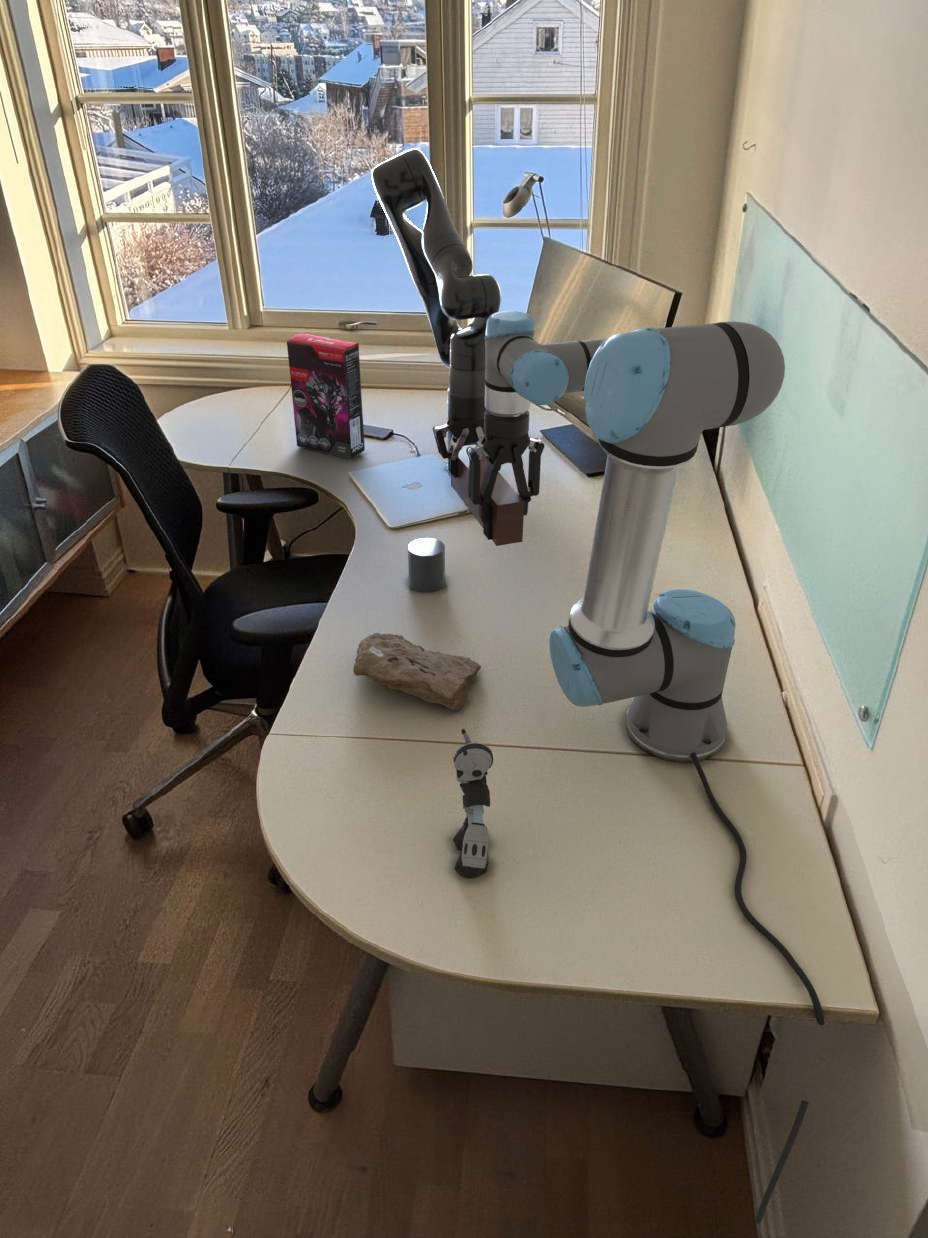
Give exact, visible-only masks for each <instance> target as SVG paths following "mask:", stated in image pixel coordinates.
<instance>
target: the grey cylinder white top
mask: <svg viewBox="0 0 928 1238" xmlns="http://www.w3.org/2000/svg"><path fill="white" fill-rule="evenodd" d="M407 562H408V564H407V565H408V585H409V587H410V588H411V589H413V590H414V591H417V592H420V593H433V592H437V591H440V590H441V589H442V588H444V586H445V585H446V546H445V544H444V542H443V541H441V540H439V539H437V538H433V537H421V538H417V539H414V540H412V541H410V542H409V544H408V545H407Z"/></svg>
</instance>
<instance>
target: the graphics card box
mask: <svg viewBox="0 0 928 1238" xmlns="http://www.w3.org/2000/svg"><path fill="white" fill-rule="evenodd" d="M286 347H287V359H288V369H289V378H290V389H291V397H292V407H293V418H294V419H293V420H294V428H295V438H296V439H295V441H296V447H299V448H303V449H307V450H310V451H315V452H320V453H323V454H324V453H325V454H329V455H332V456H336V457H341V458H346V459H353V458H354V457H356V456H358V455H360V454H362V453H363V452H365V447H366V446H365V430H364V415H363V414H364V413H363V398H362V381H361V380H362V379H361V363H360V344H359V342H351V341H346V340H342V339H341V340H340V339H336V338H330V337H325V336H319V335H314V334H308V333H304V332H300V333H298V334H295V335H293V336H292V337H290V338H289V339H288V340H287V341H286Z"/></svg>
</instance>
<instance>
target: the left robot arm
mask: <svg viewBox="0 0 928 1238" xmlns="http://www.w3.org/2000/svg"><path fill="white" fill-rule="evenodd" d="M371 180H372V185H373V188H374V191H375V193H376V196H377V199H378V200H379V203H380V205H381V207H382V209H383V211H384V213H385V216H386V218H387V220H388V222H389V224H390V226H391V229H392V230H393V232H394V235H395V236H396V239H397V242H398V245H399V246H400V249H401V251H402V255H403V256H404V259H405V263H406V265H407V268H408V271H409V273H410V276H411V279H412V281H413V284H414V286H415V289H416V291H417V293H418V296H419V298H420V301H421V302H422V305H423V308H424V311H425V313H426V316H427V319H428V322H429V325H430V329H431V331H432V335H433V339H434V343H435V346H436V351H437V354H438V356H439V359H440V362H441V363H442V365H444V366H445V367H446V368H448V369H449V374H448V389H447V391H446V423H445V424H443V425H440V426H438V425H433V427H432V432H433V436H434V439H435V444H436V448H437V452H438V454H439V455H440V456H441V458H442V459H443V460H446V471H447V472H448V473H449V474H450V476H451V475H452V476H453V477H454V478H458V460H457V457H458V455H459V452H460V450H461V449H462V447H463V446H468V445H476V446H478V445H480V444H481V441H482V439H483V437H484V411H485V410H486V408H485V341H486V340H485V336H486V325H487V320H488V318H489V316H491V315H492V314H494V313H497V312H500V308H501V302H502V292H501V287H500V284H499V282H498V281H497V279H496V278H495V276H492V275H491V274H486V273H483V274H482V273H481V274H473V275H471V274H472V272H473V268H474V262H473V261H474V260H473V259H472V256H471V254H470V252H469V250H468V248H467V247H466V245H465V243H464V241H463V239H462V237H461V236H460V234H459V232H458V231H457V228H456V226H455V223H454V221H453V219H452V215H451V214H450V210H449V208H448V204H447V202H446V200H445V197H444V194H443V191H442V189H441V187H440V185H439V182H438V180H437V177H436V175H435V172H434V171H433V169H432V166H431V164H430V162H429V160H428V159H427V157H426V156H425V154H424V153H423V151H421V150H420V149H418V148H410V149H408V150H405V151H403V152H401V153H399V154H397V155H395V156H392V157H391V158H389V159H386V160H385V161H383V162H381V163H379V164H377V165H376V166H375V167H373V168H372V170H371ZM425 202H426V214H425V218H424V223H423V228H422V230H421V229H420V228H418V227H417V226H416V225H414V224H413V223H412V221H411V220H409V218H407V216H406V215H405V213H406V212H407V211H409V210H411V209H413V208H415V207H417V206H420V205H421V204H424V203H425ZM470 319H472V320H471V322H470V323H469V324H468V325H467V326H466V327H463V328H462V327H461V326H460V325H459V324H460V323H458V321H462V320H463V321H464V320H470ZM445 438H446V440H445ZM483 454H484V455H485V457H486V458H487V459H488V455H487V453H486V452H485V451H484V452H483Z"/></svg>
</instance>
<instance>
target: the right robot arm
mask: <svg viewBox="0 0 928 1238" xmlns="http://www.w3.org/2000/svg"><path fill="white" fill-rule="evenodd" d="M535 333H536V332H535V325H534V318H533V317H532V316H531V314H528V313H526V312H523V311H518V310H503V311H499V312H497V313H494V314H492V315H491V316H489V318H488V320H487V325H486V336H485V340H486V341H485V408H486V410H485V411H484V437H483V439H482V441H481V444H480V445H478V446H476V447H474V448H472V447H470V446H469V447H467V449H466V452H467V454H468V457H469V494H468V496H469V498H470V500H471V501H472V502H473V504H474V505H477V504H479V518H480V520H481V521H482V522H483V528H482V534H483V535H484V536H485V538H486V539H487V540H488V541H492V526H493V506H492V505H491V503H490V499H491V496H492V492H493V489H494V485H495V481H496V478H497V474H498V472H500V471H501V468H502V466H503V465H505V464H511V467H512V473H513V476H514V480H515V484H516V489H517V493H518V495H519V496H520V497H521V498H522V499H523V500H524V517H526V516H528V514H529V503H530V502H531V501H532V497H538V496H539V494H540V485H541V462H542V454H543V452H544V449H545V446H546V445H545V443H544V442H543V441H542V440H541V439H540V438H538V437H535V438H531V436H530V435H529V430H530V413H531V412H530V411H529V410H530V408H531V404H534V405H537V406H548V405H551V404H553V403H555V402H556V401H557V400H559V399H561V398H562V396H563V395H564V394H570V393H579V392H583V400H584V401H585V402H586V404H585V407H584V413H585V418H586V422H587V425H588V427H589V429H590V431H591V432H592V434H593V435H594V437H596V438H597V443H598V445H599V447H600V449H601V450H602V451H603V452H604V453H605V454H606V456H607V457H606V463H605V469H604V473H603V474H604V475H603V481H602V486H601V493H600V499H599V504H598V511H597V517H596V523H595V529H594V534H593V541H592V545H591V546H592V547H591V553H590V559H589V564H588V565H589V566H588V570H587V576H586V577H587V578H586V583H585V590H584V595H583V597H582V598H580V599H579V600H577V601H576V602H575V604H574V605H573V606H572V607H571V609H570V613H569V619H568V624H567V625H566V626H563V625H560V626H558V627H557V628H555V629H553V630H551V632H550V634H549V639H548V648H549V654H550V660H551V664H552V668H553V671H554V675H555V677H556V680H557V682H558V685H559V687H560V689H561V691H562V692H563V694H564V696H565V697H566V698H567V700H568V701H569V702H570V703H571V704H573V705H574V706H577V707H581V708H584V707H592V706H603V705H605V704H609V703H614V702H618V701H623V700H626V699H627V700H628V699H632V698H633V699H632V701H631V702H630V704H629V706H628V708H627V713H626V719H625V728H626V732H627V734H628V736H629V738H630V739H631V741H632V742H634V744H636V745H637V746H638V747H639V748H640V749H641V750H643V751H645V752H646V753H648V754H650V755H651V756H654V757H656V758H659V759H662V760H666V761H670V762H675V763H693V764H694V767H695V769H696V771H697V774H698V776H699V778H700V781H701V784H702V786H703V789H704V792H705V794H706V796H707V798H708V800H709V802H710V804H711V806H712V808H713V810H714V811H715V813H716V814H717V816H718V817H719V819H720V820H721V821H722V822H723V823H724V825H725V826H726V827H727V829H728V830H729V832H730V833H731V834H732V836H733V838H734V839H735V842H736V844H737V846H738V851H739V863H738V869H737V872H736V876H735V880H734V895H735V896H734V897H735V900H736V902H737V905H738V907H739V909H740V911H741V913H742V914H743V915H744V917H745V918H746V919H747V921H748V922H749V923H750V924H751V925H752V926H753V927H754V929H756V930H757V931H758V932H759V934H761V935H762V936H763V937H764V938H765V939H766V940H768V941H769V942H770V943H771V944H772V945H773V946H774V947H775V948H776V949H777V950H778V951H779V952H780V954H781V955H782V956H783V957H784V959H785V960H786V961H787V962H788V964H789V965H790V967H791V968H792V970H793V971H794V972H795V974H796V975H797V977H798V978H799V979H800V981H801V982H802V984H803V985H804V987H805V989H806V991H807V993H808V995H809V998H810V1000H811V1003H812V1006H813V1011H814V1015H815V1019H816V1022H817V1024H818V1025H819V1026H824V1025H825V1017H824V1012H823V1009H822V1005H821V1002H820V999H819V996H818V993H817V991H816V989H815V988H814V986H813V983H812V982H811V980H810V979H809V977H808V976H807V974H806V973H805V972H804V970H803V968H801V966H800V965H799V963H798V962H797V960H796V959H795V958H794V956H793V955H792V954H791V953H790V951H789V950H788V949H787V948H786V946H784V945H783V943H782V942H781V941H780V940H779V939H778V938H777V937H775V935H774V934H772V933H771V931H769V930H768V929H767V928H766V927H765V926H763V925H762V924H761V923H760V921H758V919H756V918H755V916H754V915H753V914H752V912H751V911H750V910H749V908H748V906H747V905H746V903H745V900H744V898H743V893H742V892H743V891H742V884H743V879H744V874H745V871H746V867H747V858H748V856H747V855H748V854H747V849H746V846H745V843H744V841H743V839H742V836H741V835H740V833H739V831H738V829H737V828H736V826H735V825H734V824H733V822H732V821H731V820H730V819H729V818H728V816H727V815H726V814H725V812H724V811H723V810H722V808H721V807H720V806H719V803H718V802H717V800H716V798H715V796H714V794H713V791H712V789H711V786H710V784H709V781H708V779H707V776H706V774H705V772H704V770H703V767H702V764H701V762H700V761H703V760H706V759H709V758H711V757H714V755H716V754H718V752H720V751H721V750H722V748H723V747H724V744H725V743H726V740H727V739H726V738H727V733H728V721H727V716H726V712H725V708H724V707H725V706H724V701H723V692H724V686H725V682H726V678H727V677H726V676H727V672H728V668H729V663H730V659H731V654H732V651H733V650H732V649H733V647H734V645H735V642H736V641H735V634H736V617H735V616H734V614H733V612H732V611H731V609H730V608H729V607H728V606H727V605H726V604H724V603H723V602H722V601H720V600H719V599H717V598H715V597H713V596H711V595H709V594H706V593H703V592H700V591H697V590H692V589H683V588H677V589H676V588H675V589H667V590H665V591H663V592H661V593H660V594H659V595H658V596H657V597H656V599H655V600H654V602H653V609H652V610H649V609H648V608H649V604H650V600H651V596H652V590H653V587H654V581H655V577H656V572H657V568H658V564H659V560H660V555H661V552H662V546H663V542H664V538H665V534H666V529H667V524H668V520H669V515H670V512H671V506H672V503H673V497H674V493H675V488H676V485H677V481H678V480H677V479H678V475H679V471H680V467H682V466H684V465H687V464H688V463H690V462H691V461H692V460H693V459H694V458H695V456H696V454H697V452H698V447H699V443H700V439H701V436H702V433H703V431H704V430H712V429H713V430H714V429H719V428H726V427H731V426H732V427H733V426H737V425H740V424H743V423H746V422H749V421H750V420H752V419H755V418H756V417H757V416H760V415H761V414H763V412H765V411H766V410H767V409H768V408H770V406H771V405H772V404H773V402H774V401H775V400H776V399H777V396H778V395H779V393H780V391H781V389H782V386H783V383H784V380H785V375H786V374H785V373H786V365H785V364H786V363H785V357H784V353H783V351H782V348H781V347H780V345H779V342H778V341H777V340H776V339H775V338H774V336H773V335H772V334H771V333H769V332H768V331H767V330H765V328H762V327H760V326H757V325H755V324H753V323H748V322H741V321H733V320H732V321H719V322H715V323H703V324H702V323H701V324H691V325H682V326H681V325H680V326H670V327H659V328H655V327H642V328H639V329H638V328H637V329H635V330H634V331H633V330H632V331H626V332H620V333H616V334H614V335H611V336H610V337H603V338H595V339H594V338H593V339H585V340H573V341H571V340H570V341H564V342H562V341H561V342H552V343H539V342H538V341H537V340H535V338H534V335H535ZM527 449H528V450H529V451H528V468H527V469H528V470H527V471H528V472H527V473H528V474H527V479H526V474H525V469H524V461H523V460H524V459H523V454H524V453H525V452H526V450H527ZM484 451H485V452H486V453H487V455H488V459H487V467H486V471H485V475H484V478H483V482H482V486H481V489H480V472H481V464H480V460H481V459H482V453H483V452H484ZM809 1103H810V1102H809V1101H806V1100H801V1101H800V1104H799V1107H798V1110H797V1113H796V1116H795V1118H794V1121H793V1124H792V1126H791V1129H790V1132H789V1133H788V1137H787V1140H786V1142H785V1144H784V1147H783V1149H782V1152H781V1154H780V1156H779V1159H778V1161H777V1163H776V1166H775V1168H774V1170H773V1172H772V1175H771V1177H770V1179H769V1181H768V1184H767V1187H766V1189H765V1191H764V1194H763V1197H762V1199H761V1201H760V1204H759V1207H758V1210H757V1211H756V1215H755V1218H754V1221H755V1223H756V1224H761V1223H762V1221H763V1219H764V1216H765V1212H766V1210H767V1207H768V1205H769V1203H770V1200H771V1198H772V1195H773V1193H774V1192H775V1188H776V1186H777V1184H778V1181H779V1179H780V1177H781V1174H782V1173H783V1170H784V1167H785V1165H786V1163H787V1161H788V1158H789V1156H790V1153H792V1152H791V1151H792V1150H793V1147H794V1144H795V1143H796V1140H797V1137H798V1135H799V1132H800V1129H801V1127H802V1124H803V1121H804V1119H805V1116H806V1113H807V1110H808V1106H809Z"/></svg>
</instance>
